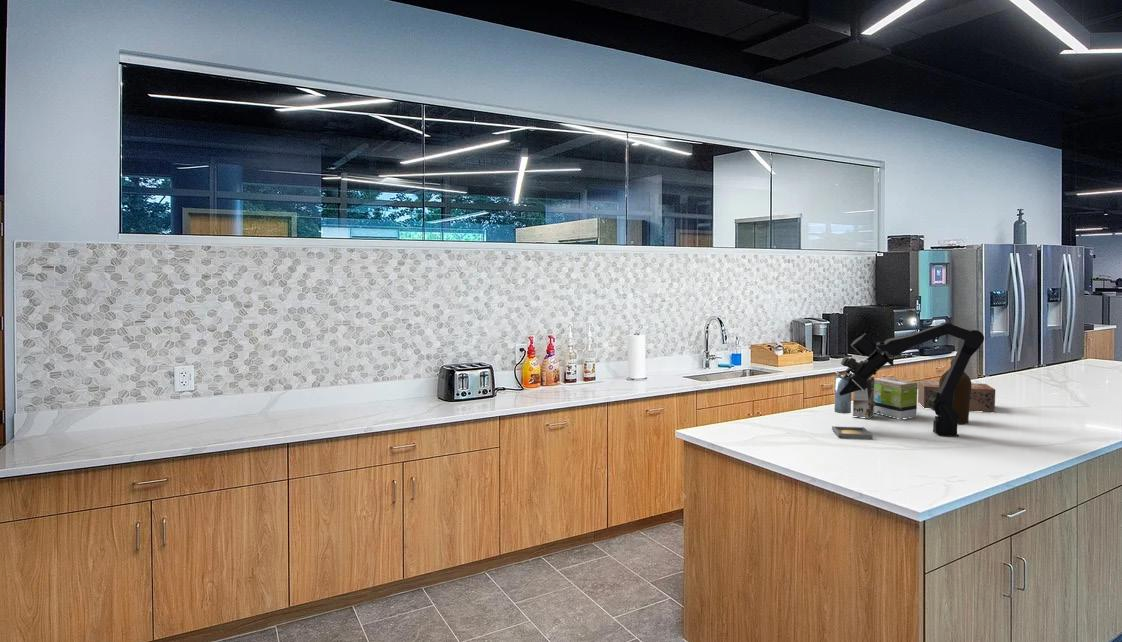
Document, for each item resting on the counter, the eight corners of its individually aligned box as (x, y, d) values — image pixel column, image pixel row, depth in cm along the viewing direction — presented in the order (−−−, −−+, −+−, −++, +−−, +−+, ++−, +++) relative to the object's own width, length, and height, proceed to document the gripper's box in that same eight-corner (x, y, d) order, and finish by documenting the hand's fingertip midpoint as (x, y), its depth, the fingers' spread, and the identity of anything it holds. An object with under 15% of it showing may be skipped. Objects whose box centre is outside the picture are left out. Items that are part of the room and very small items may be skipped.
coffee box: (869, 419, 246) (870, 379, 245) (852, 417, 250) (853, 378, 248) (874, 415, 253) (875, 376, 252) (857, 413, 257) (858, 375, 256)
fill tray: (863, 431, 227) (863, 427, 227) (872, 439, 216) (872, 434, 216) (831, 430, 229) (832, 426, 229) (838, 438, 218) (838, 433, 218)
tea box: (867, 413, 257) (868, 378, 256) (884, 410, 262) (884, 376, 261) (900, 420, 244) (901, 383, 243) (917, 417, 248) (918, 381, 247)
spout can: (848, 410, 234) (849, 369, 233) (852, 413, 228) (853, 372, 227) (832, 410, 235) (833, 369, 234) (836, 413, 230) (837, 371, 228)
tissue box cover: (985, 406, 269) (985, 383, 268) (994, 413, 255) (995, 389, 255) (917, 402, 278) (918, 380, 278) (923, 409, 265) (924, 386, 264)
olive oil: (964, 426, 233) (966, 360, 232) (933, 421, 241) (935, 358, 240) (974, 421, 240) (976, 358, 238) (943, 417, 248) (945, 355, 246)
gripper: (851, 346, 238) (820, 374, 242) (858, 352, 220) (825, 381, 224) (873, 367, 236) (842, 394, 240) (882, 374, 218) (848, 404, 222)
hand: (838, 393), depth 232 cm, fingers closed on spout can, 6 cm apart
